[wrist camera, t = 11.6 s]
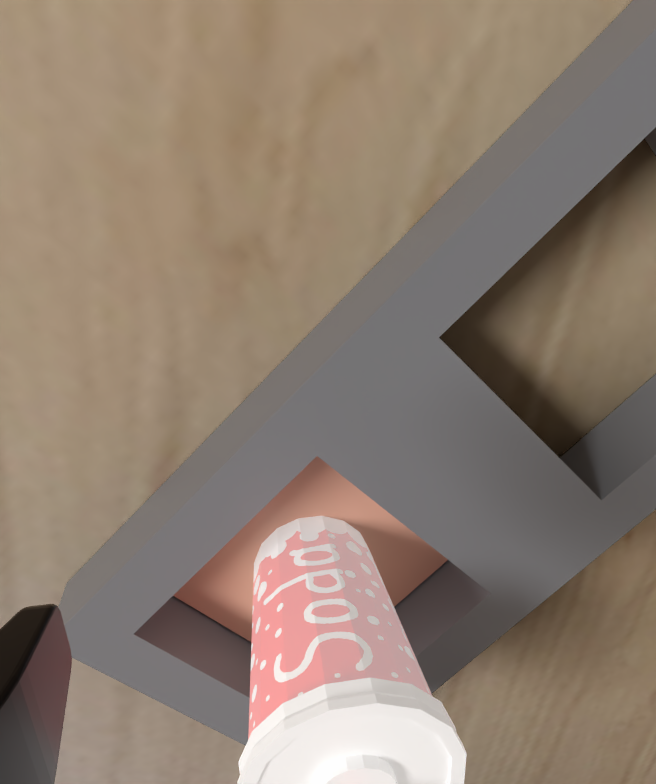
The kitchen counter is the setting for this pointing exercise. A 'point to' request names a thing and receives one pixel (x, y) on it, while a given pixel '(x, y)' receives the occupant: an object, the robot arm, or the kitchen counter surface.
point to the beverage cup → (337, 671)
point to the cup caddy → (396, 436)
